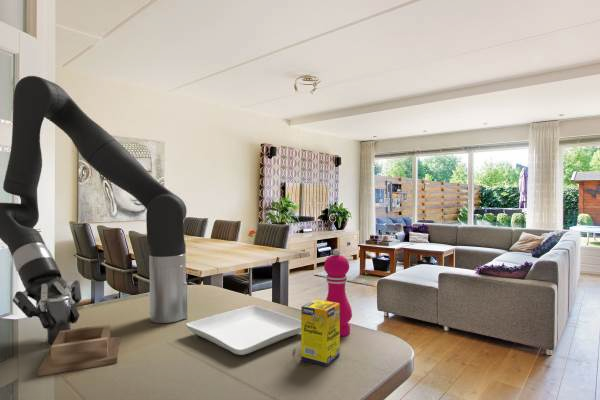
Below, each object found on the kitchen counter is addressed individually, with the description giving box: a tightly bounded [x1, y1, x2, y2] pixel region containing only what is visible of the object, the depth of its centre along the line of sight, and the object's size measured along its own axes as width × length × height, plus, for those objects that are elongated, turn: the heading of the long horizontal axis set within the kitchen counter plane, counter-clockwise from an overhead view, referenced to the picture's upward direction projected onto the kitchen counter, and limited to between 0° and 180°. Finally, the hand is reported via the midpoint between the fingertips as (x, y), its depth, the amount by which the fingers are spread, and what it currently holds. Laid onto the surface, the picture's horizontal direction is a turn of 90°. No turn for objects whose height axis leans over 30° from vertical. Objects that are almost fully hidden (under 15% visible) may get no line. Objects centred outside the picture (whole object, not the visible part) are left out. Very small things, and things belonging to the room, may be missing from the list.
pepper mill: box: [323, 248, 353, 338], centre depth 89 cm, size 7×7×20 cm
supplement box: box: [300, 298, 341, 367], centre depth 75 cm, size 6×6×11 cm
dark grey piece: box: [46, 294, 72, 346], centre depth 84 cm, size 4×4×10 cm
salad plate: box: [185, 305, 301, 356], centre depth 87 cm, size 21×21×3 cm
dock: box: [37, 323, 120, 377], centre depth 76 cm, size 13×12×4 cm
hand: (63, 324), depth 83 cm, fingers closed on dark grey piece, 4 cm apart
